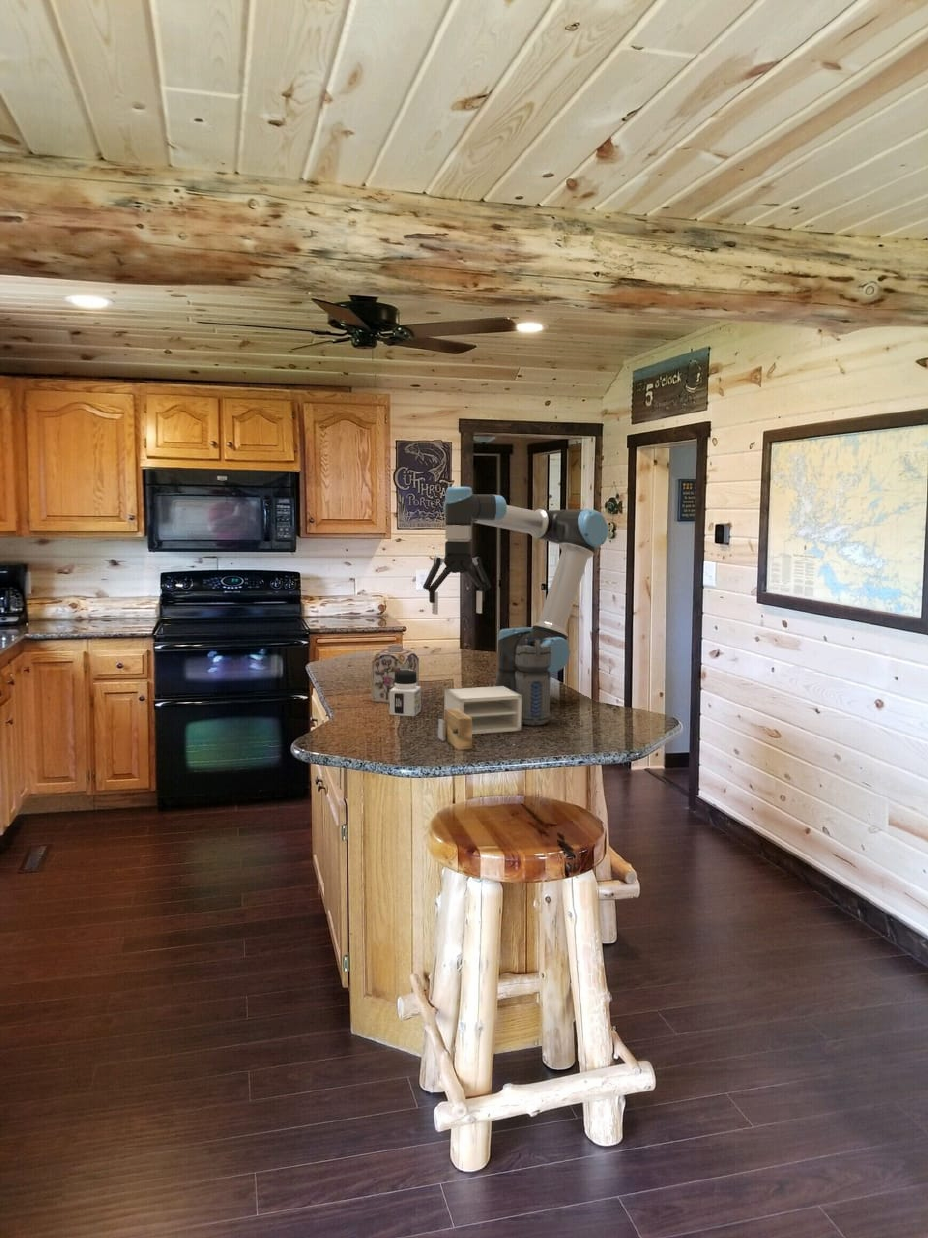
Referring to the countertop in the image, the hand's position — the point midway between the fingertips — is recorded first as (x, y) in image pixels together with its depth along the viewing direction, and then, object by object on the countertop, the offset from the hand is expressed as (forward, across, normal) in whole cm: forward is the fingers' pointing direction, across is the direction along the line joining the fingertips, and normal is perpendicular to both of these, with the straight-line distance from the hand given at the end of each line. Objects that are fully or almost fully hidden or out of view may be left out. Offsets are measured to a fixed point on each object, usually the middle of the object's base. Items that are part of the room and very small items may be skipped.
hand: (457, 613), depth 251 cm
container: (+31, +13, -9) cm, 35 cm away
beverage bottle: (+31, -19, +12) cm, 38 cm away
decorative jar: (+31, +11, -28) cm, 43 cm away
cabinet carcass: (+31, -3, +14) cm, 34 cm away
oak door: (+31, +9, +29) cm, 43 cm away
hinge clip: (+31, +9, +24) cm, 40 cm away
